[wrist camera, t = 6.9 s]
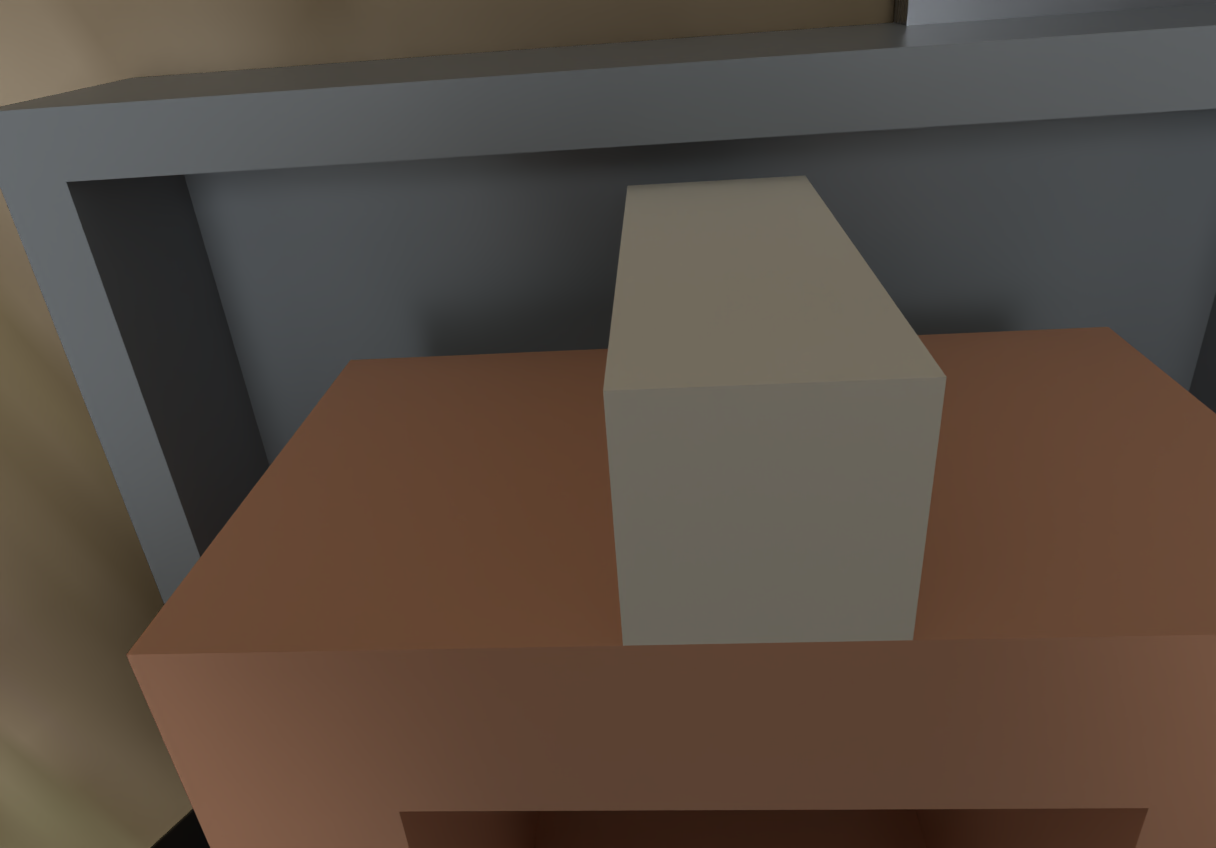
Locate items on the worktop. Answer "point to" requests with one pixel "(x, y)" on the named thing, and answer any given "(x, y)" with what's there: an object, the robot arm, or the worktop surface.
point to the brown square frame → (715, 580)
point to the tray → (587, 211)
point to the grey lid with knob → (1014, 8)
